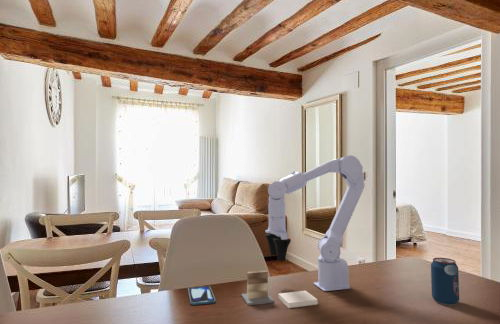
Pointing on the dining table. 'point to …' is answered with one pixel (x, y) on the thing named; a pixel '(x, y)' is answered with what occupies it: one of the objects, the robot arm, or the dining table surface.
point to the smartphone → (201, 295)
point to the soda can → (445, 281)
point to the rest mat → (257, 300)
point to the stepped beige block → (257, 284)
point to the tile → (297, 299)
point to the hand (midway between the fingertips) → (277, 257)
